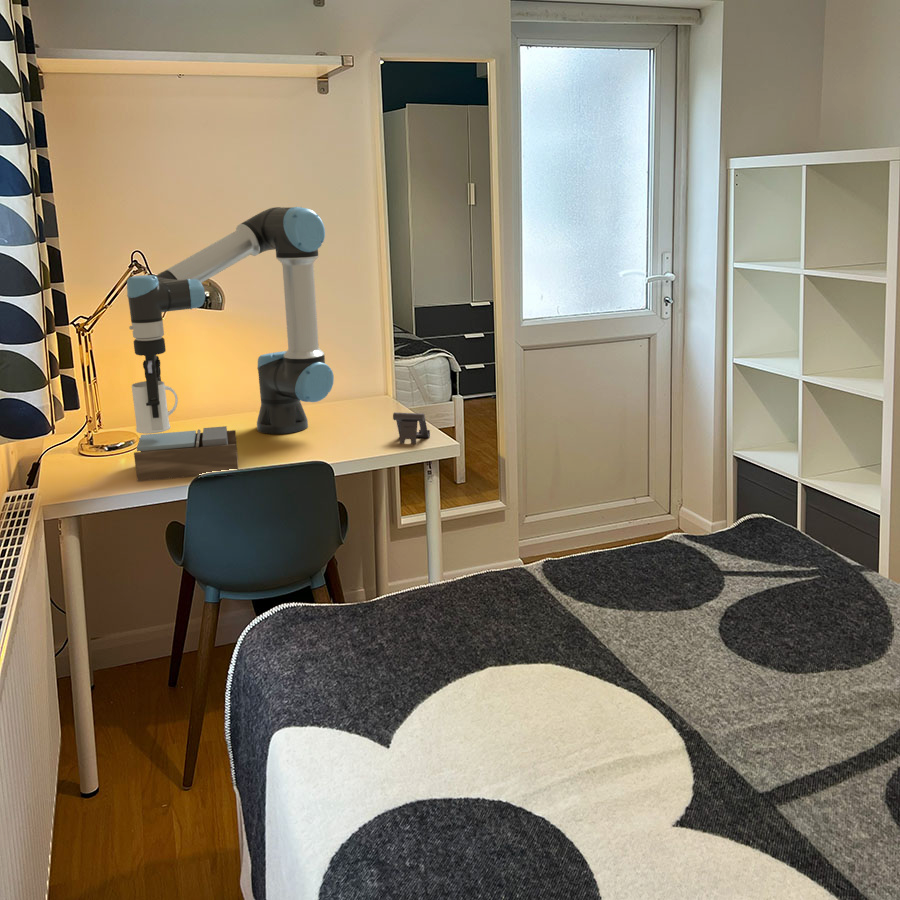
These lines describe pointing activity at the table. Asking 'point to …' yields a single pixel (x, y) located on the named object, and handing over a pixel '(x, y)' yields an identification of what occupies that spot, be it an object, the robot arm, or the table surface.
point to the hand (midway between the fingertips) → (158, 425)
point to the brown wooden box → (186, 460)
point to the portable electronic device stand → (411, 426)
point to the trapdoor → (183, 439)
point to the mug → (144, 411)
